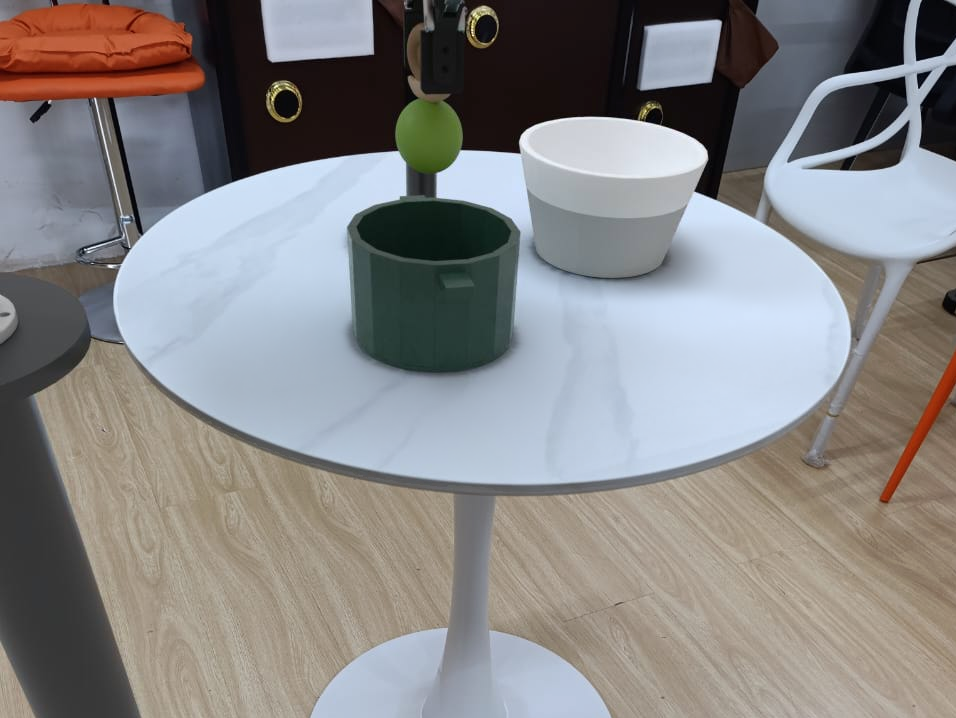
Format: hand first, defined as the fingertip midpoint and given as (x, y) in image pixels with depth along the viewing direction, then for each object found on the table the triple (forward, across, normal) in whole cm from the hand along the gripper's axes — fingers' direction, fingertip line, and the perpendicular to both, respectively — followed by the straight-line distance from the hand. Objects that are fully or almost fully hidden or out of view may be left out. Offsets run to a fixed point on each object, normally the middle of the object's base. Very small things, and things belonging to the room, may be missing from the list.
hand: (432, 78), depth 71 cm
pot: (+21, 0, 0) cm, 21 cm away
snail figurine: (+7, 0, 0) cm, 7 cm away
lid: (+20, -21, +3) cm, 29 cm away
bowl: (+21, -16, +22) cm, 34 cm away
